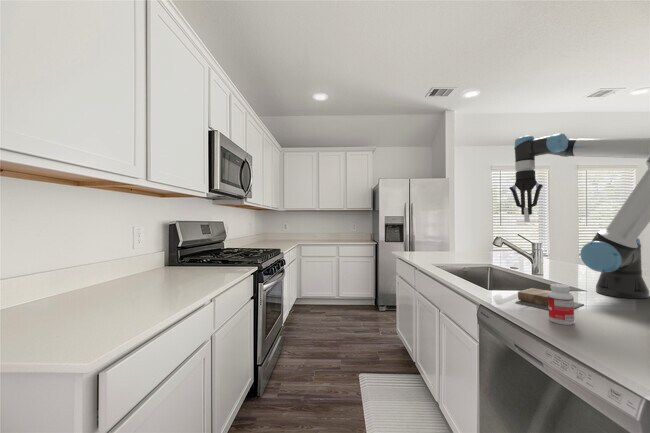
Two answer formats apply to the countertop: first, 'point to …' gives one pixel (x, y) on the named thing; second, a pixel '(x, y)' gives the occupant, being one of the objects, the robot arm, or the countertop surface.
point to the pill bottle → (561, 304)
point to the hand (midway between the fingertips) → (527, 221)
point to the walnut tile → (534, 296)
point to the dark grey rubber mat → (543, 305)
